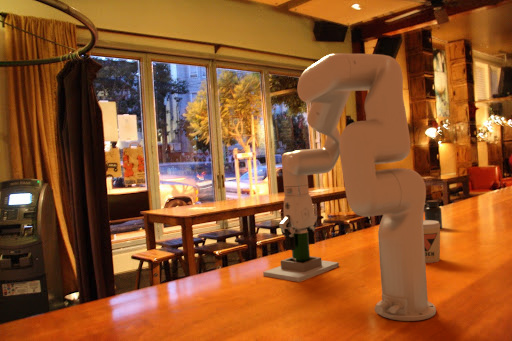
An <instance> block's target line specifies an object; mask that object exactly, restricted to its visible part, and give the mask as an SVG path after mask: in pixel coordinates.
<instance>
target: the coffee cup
mask: <svg viewBox="0 0 512 341" xmlns="http://www.w3.org/2000/svg"><path fill="white" fill-rule="evenodd" d="M423 231H424V250H425V264H429V263H432V264H433V263H437V262H440V259H441V258H440V257H441V255H440V254H441V251H440V250H441V229H440V224H439V222H438V221H433V220H425V219H423Z"/></svg>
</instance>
